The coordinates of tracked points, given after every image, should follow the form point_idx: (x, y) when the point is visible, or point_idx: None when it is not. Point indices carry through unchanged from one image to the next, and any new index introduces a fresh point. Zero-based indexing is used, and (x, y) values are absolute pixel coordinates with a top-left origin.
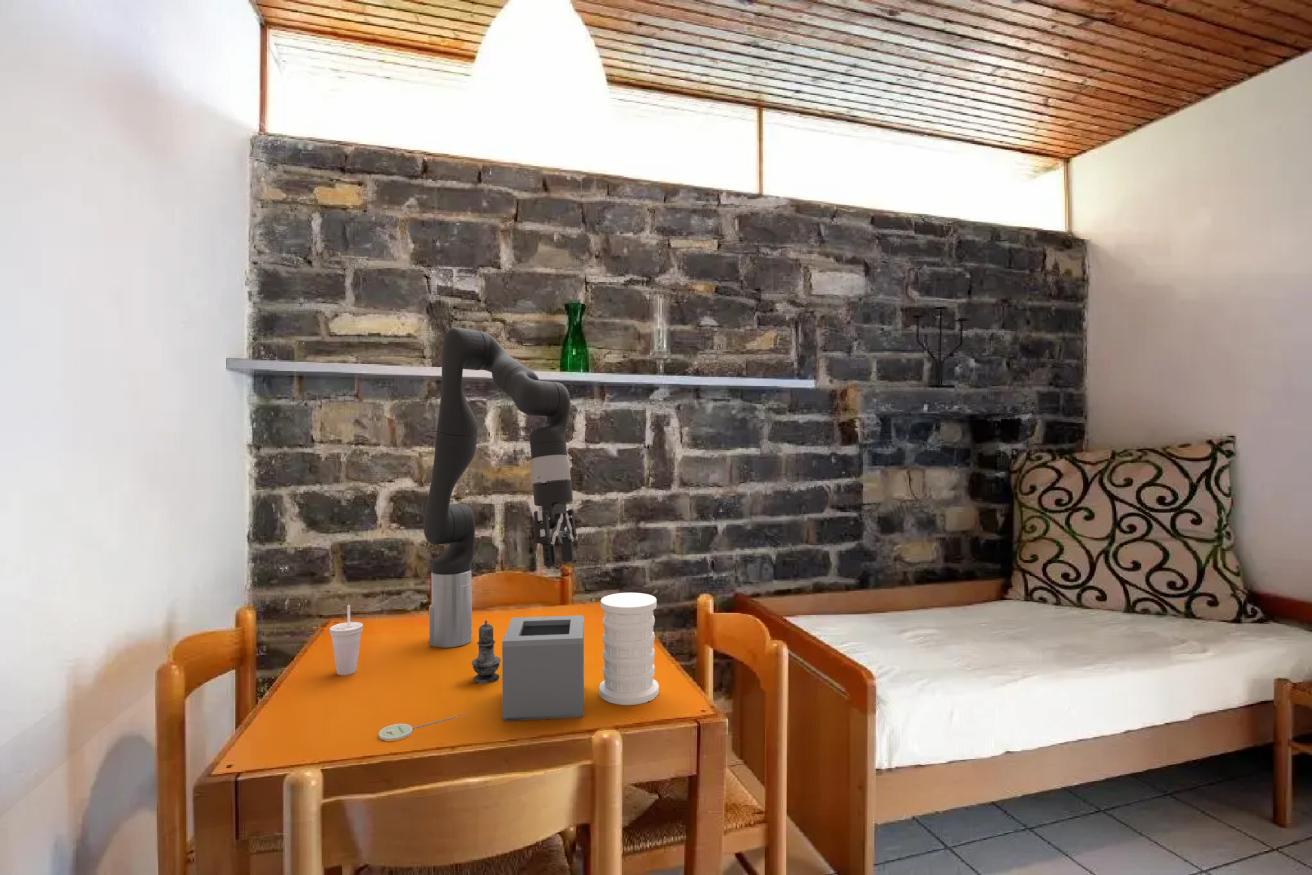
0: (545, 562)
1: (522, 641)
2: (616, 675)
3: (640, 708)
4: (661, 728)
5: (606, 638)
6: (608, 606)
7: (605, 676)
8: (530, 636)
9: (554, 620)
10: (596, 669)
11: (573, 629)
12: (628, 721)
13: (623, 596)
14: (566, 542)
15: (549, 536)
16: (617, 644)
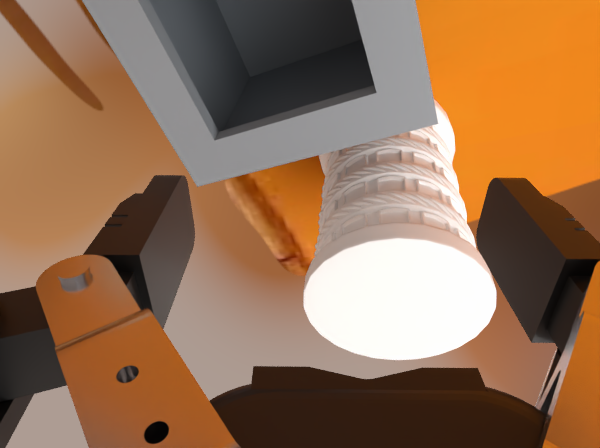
0: (131, 202)
1: (86, 5)
2: (327, 164)
3: (312, 180)
4: (250, 219)
5: (341, 189)
6: (315, 268)
7: None
8: (137, 16)
9: (359, 27)
10: (537, 31)
11: (263, 138)
12: (256, 171)
13: (438, 291)
14: (559, 309)
15: (7, 415)
16: (319, 214)
